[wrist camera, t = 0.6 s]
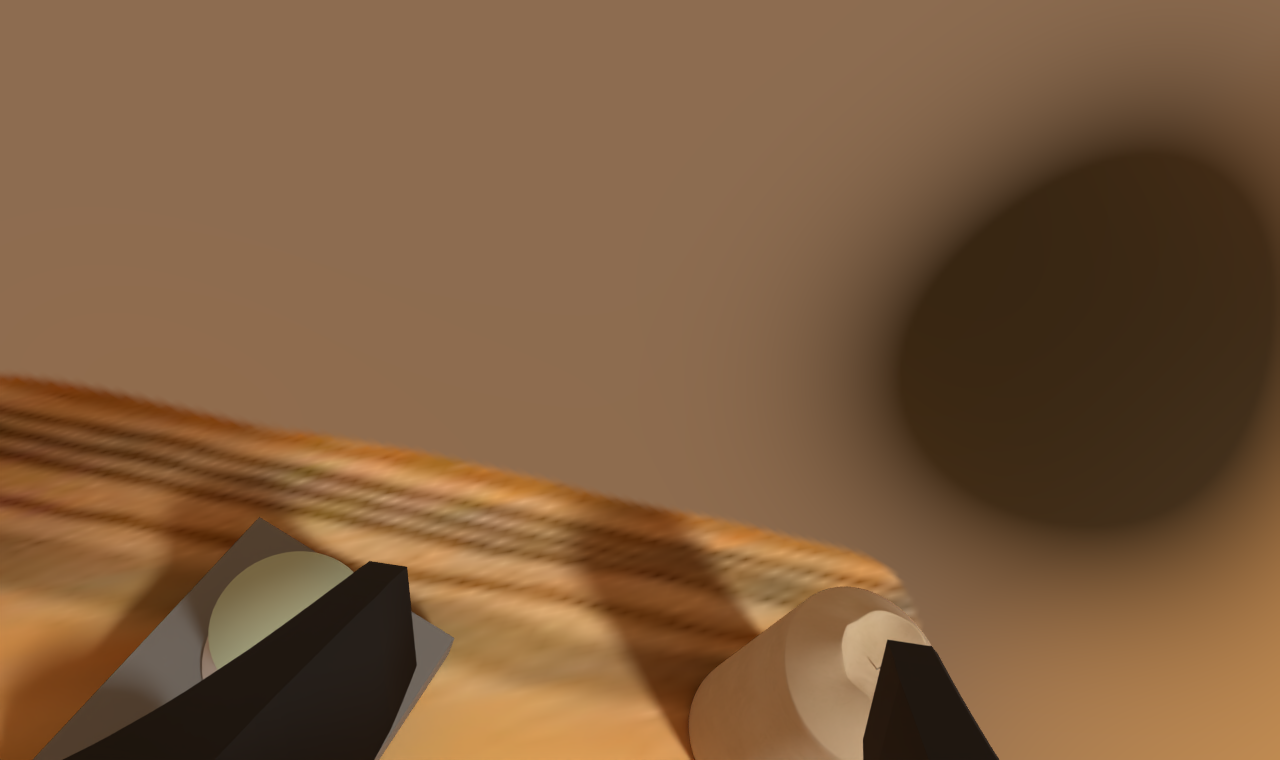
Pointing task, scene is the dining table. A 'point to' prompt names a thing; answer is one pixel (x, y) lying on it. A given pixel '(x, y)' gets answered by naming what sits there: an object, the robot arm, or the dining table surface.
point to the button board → (207, 654)
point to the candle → (801, 682)
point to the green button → (268, 599)
